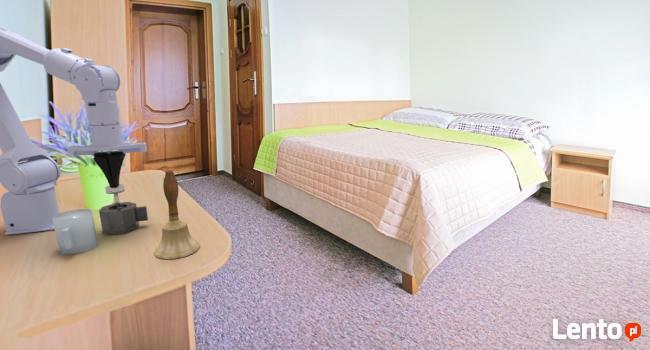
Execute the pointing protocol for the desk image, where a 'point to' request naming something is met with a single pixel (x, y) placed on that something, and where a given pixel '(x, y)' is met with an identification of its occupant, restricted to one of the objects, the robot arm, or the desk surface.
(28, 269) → the desk surface
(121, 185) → the grey flared round piece
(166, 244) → the hand bell
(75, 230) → the white dome with tab
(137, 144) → the robot arm
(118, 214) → the grey octagonal pot
